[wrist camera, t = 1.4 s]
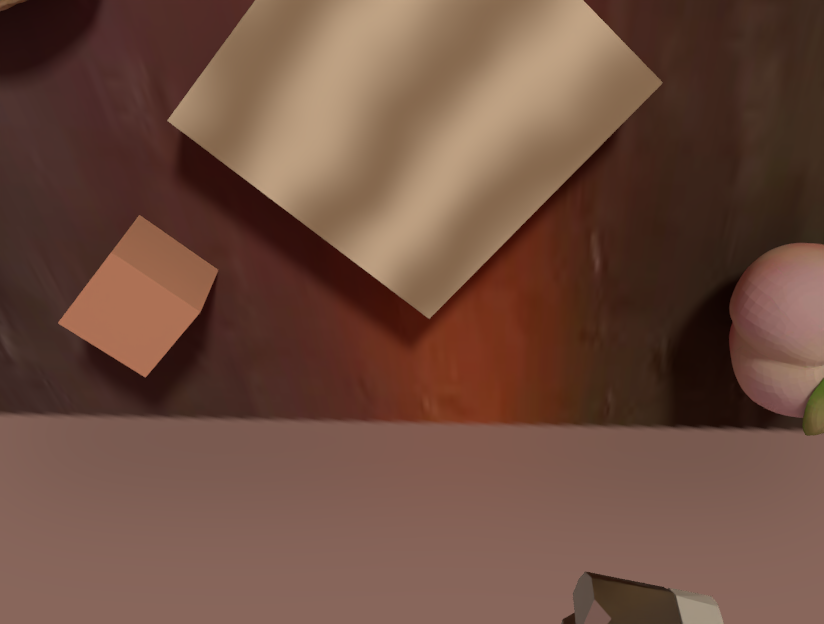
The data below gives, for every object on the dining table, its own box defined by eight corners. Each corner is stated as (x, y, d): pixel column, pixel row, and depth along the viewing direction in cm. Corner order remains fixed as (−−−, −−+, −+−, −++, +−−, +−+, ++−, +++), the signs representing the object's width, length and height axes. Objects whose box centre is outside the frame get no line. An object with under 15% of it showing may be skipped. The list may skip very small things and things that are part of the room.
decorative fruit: (837, 341, 47) (944, 445, 38) (699, 365, 47) (773, 473, 38) (850, 195, 42) (975, 274, 33) (699, 222, 43) (782, 307, 34)
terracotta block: (90, 279, 43) (58, 323, 39) (140, 214, 41) (111, 252, 37) (168, 330, 45) (145, 377, 40) (218, 269, 43) (200, 312, 39)
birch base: (186, 100, 39) (167, 120, 35) (394, -184, 34) (396, -193, 30) (425, 285, 44) (429, 318, 41) (636, 65, 39) (662, 82, 36)
